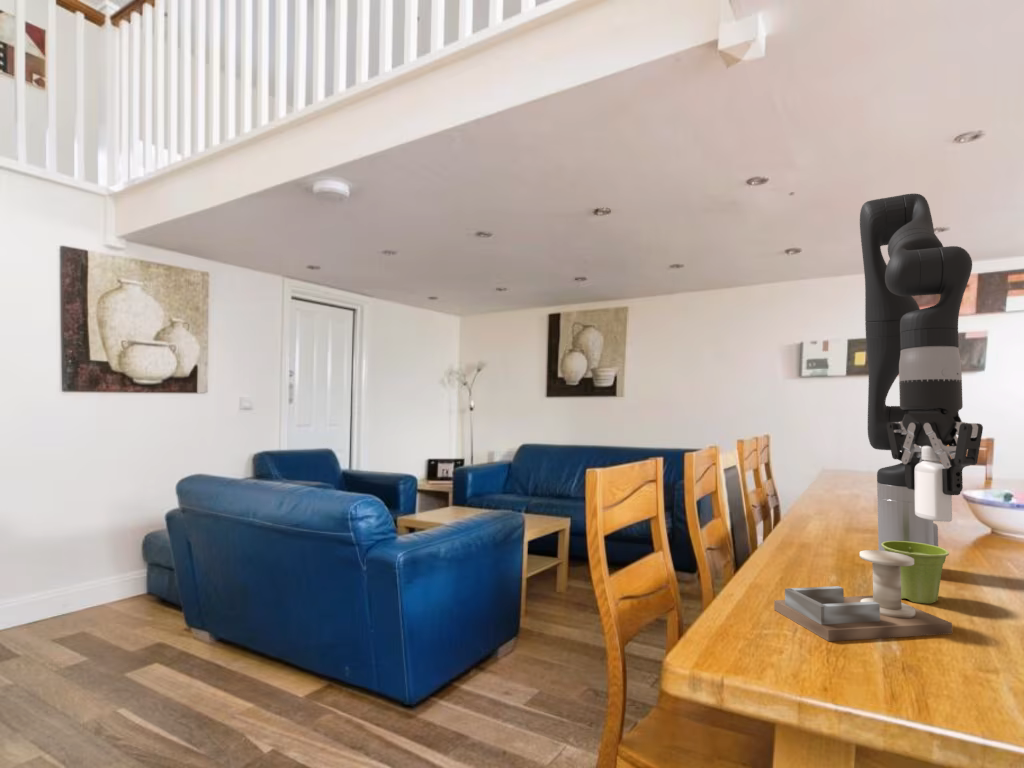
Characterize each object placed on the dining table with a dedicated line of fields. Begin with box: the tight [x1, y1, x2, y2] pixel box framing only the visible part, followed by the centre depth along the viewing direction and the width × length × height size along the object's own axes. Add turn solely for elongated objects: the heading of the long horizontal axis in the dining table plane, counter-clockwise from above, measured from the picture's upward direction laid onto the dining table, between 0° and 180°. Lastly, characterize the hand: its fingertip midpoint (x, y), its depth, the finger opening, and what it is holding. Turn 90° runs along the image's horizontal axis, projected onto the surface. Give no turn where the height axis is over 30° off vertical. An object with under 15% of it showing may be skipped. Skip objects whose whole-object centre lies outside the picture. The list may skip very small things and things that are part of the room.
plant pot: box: [881, 541, 950, 605], centre depth 94 cm, size 9×9×9 cm
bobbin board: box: [773, 549, 953, 642], centre depth 84 cm, size 20×12×10 cm, turn 99°
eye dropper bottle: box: [914, 445, 953, 523], centre depth 81 cm, size 4×6×12 cm
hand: (932, 491), depth 81 cm, fingers closed on eye dropper bottle, 5 cm apart
